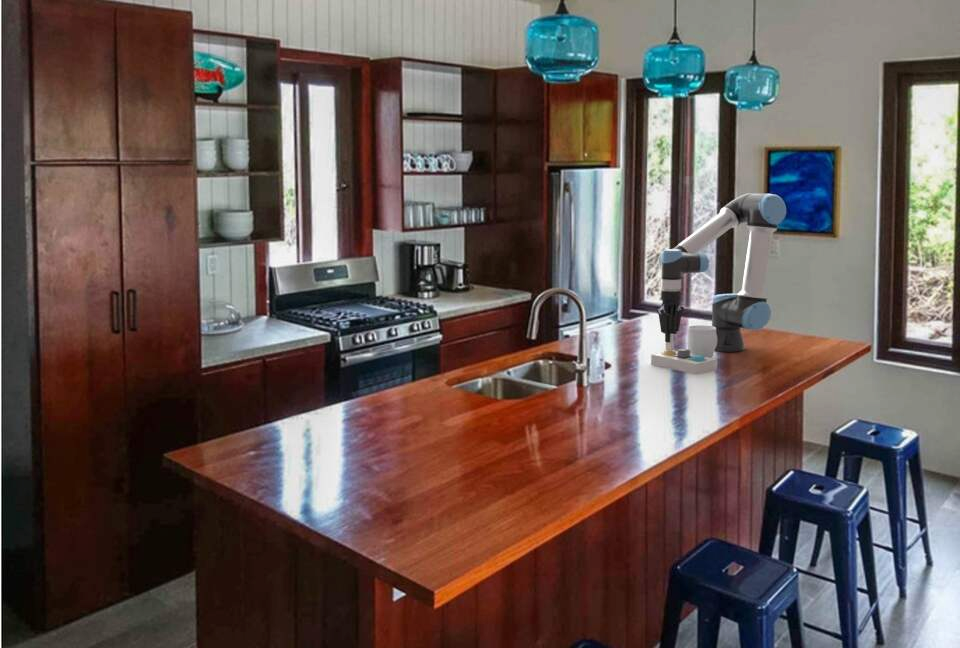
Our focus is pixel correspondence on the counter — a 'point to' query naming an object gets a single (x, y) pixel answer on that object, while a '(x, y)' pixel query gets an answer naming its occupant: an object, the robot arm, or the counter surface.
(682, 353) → the charcoal button
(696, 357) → the teal button
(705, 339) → the mug
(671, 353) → the mustard button
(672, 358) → the console
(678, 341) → the counter surface
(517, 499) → the counter surface
